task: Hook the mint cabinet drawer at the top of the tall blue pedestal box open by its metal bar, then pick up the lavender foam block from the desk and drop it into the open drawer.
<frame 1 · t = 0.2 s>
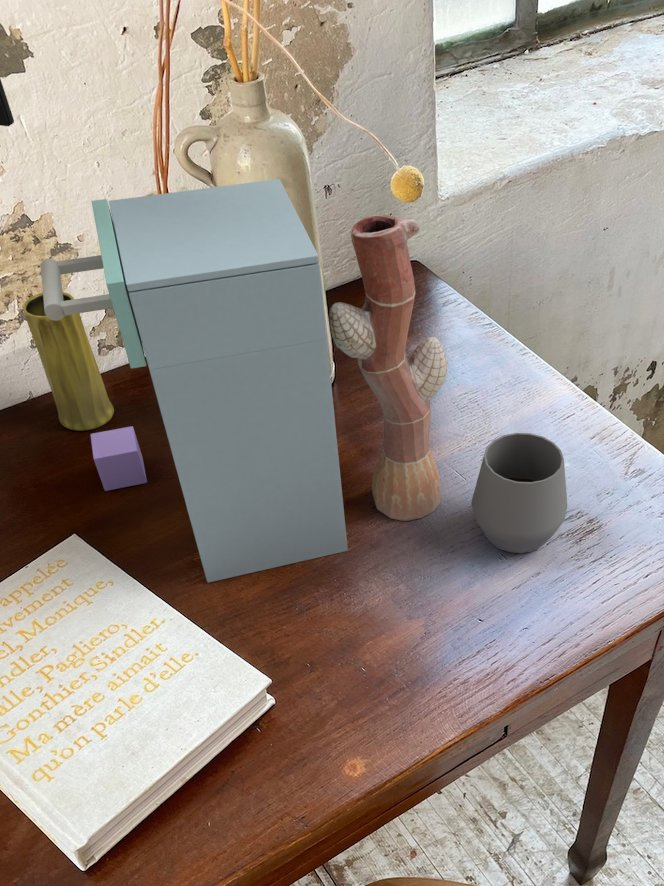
mint cabinet drawer: (168, 274, 72), point 28 cm above the table, slide at 0.0 cm
vase 2: (397, 500, 96), on the table
lavender foam block: (124, 474, 98), on the table
tall blue pedestal box: (264, 520, 93), on the table
cup: (516, 535, 93), on the table
vase: (87, 417, 105), on the table
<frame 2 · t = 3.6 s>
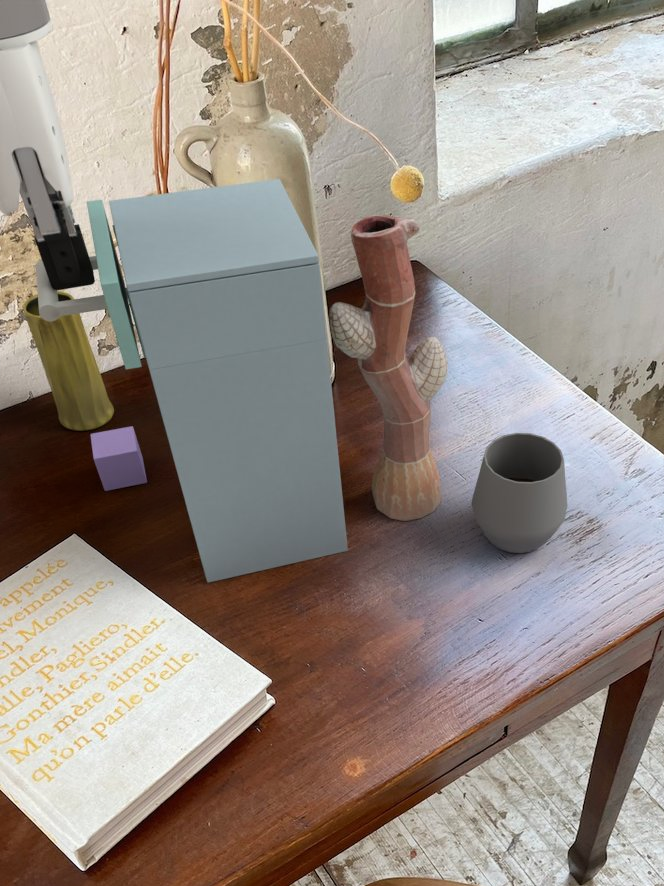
hand: (73, 282, 70), 28 cm above the table, tool pointing down, fingers closed
mint cabinet drawer: (163, 275, 72), point 28 cm above the table, slide at 0.4 cm, touching gripper
everything else where it was.
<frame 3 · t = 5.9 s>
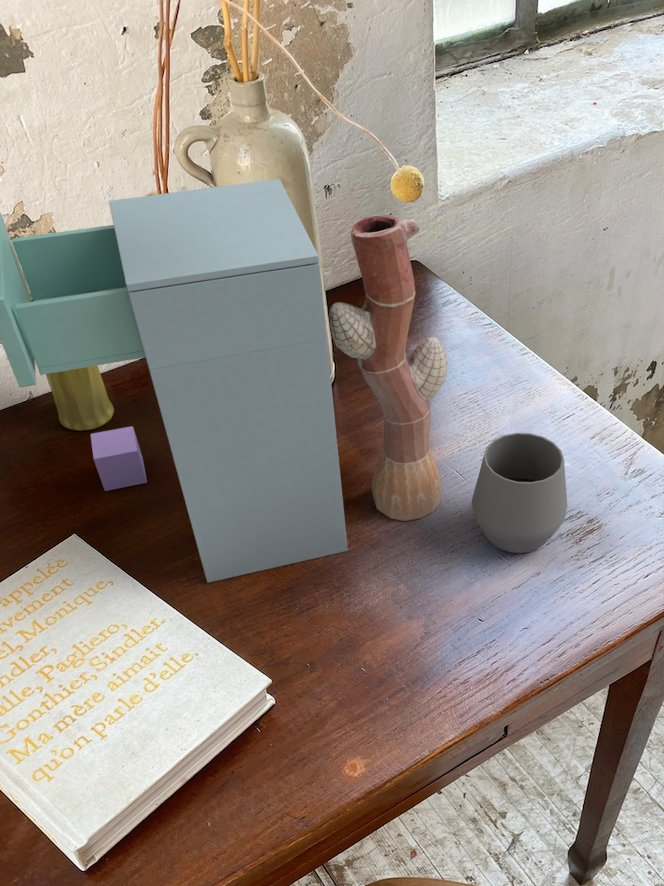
mint cabinet drawer: (62, 290, 70), point 28 cm above the table, slide at 8.1 cm
everything else where it was.
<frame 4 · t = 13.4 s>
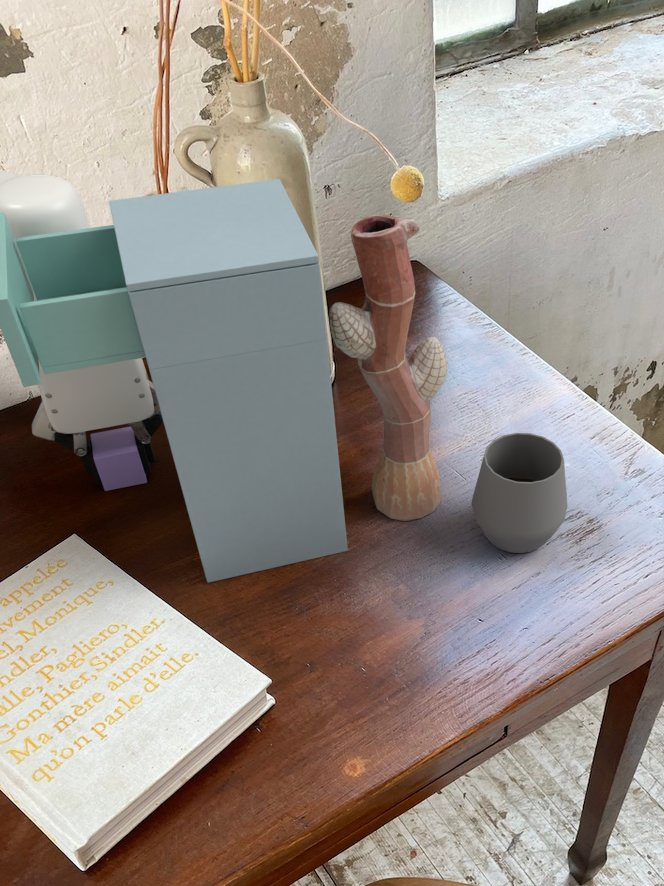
hand: (122, 470, 97), 1 cm above the table, tool pointing down, fingers closed on lavender foam block, 4 cm apart
lavender foam block: (124, 474, 98), on the table, touching gripper
everything else where it was.
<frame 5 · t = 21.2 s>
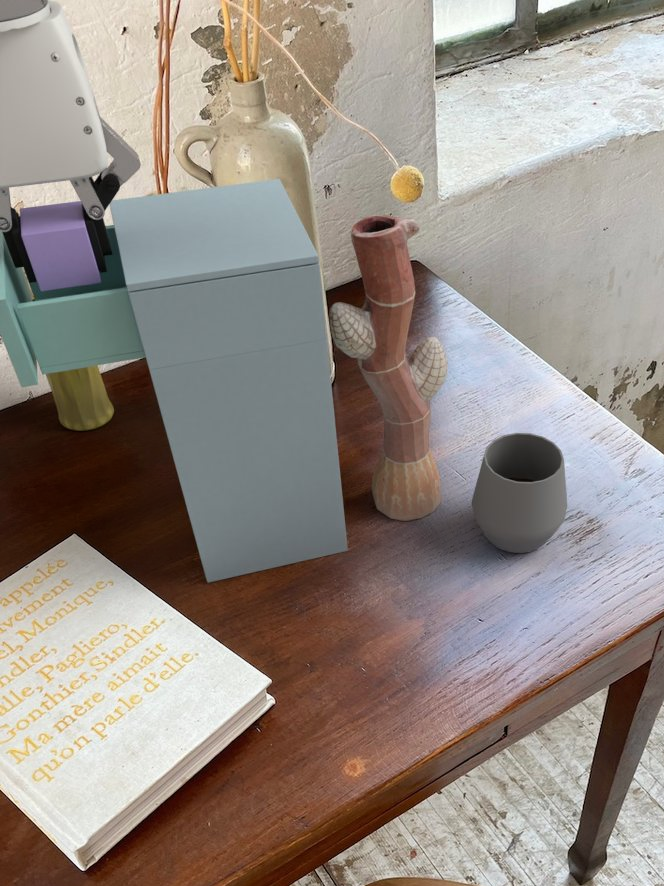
hand: (67, 266, 69), 30 cm above the table, tool pointing down, fingers closed on lavender foam block, 4 cm apart
lavender foam block: (69, 273, 69), point 29 cm above the table, touching gripper
everything else where it was.
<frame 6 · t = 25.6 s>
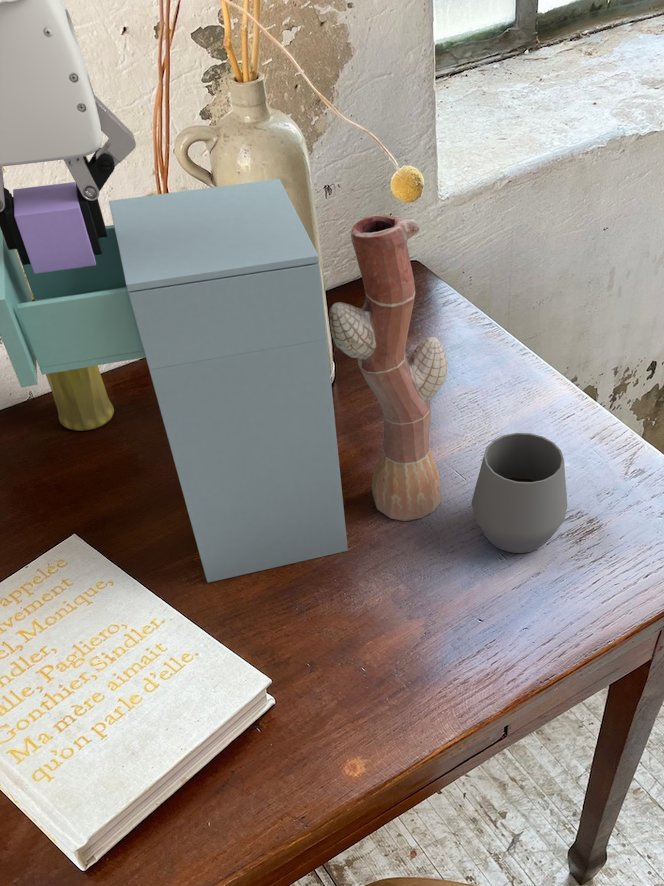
hand: (61, 249, 68), 31 cm above the table, tool pointing down, fingers closed on lavender foam block, 4 cm apart
lavender foam block: (63, 256, 68), point 30 cm above the table, touching gripper
everything else where it was.
when the fingers open (32 cm above the table, at t = 29.6 s): lavender foam block drops 6 cm, resting on mint cabinet drawer.
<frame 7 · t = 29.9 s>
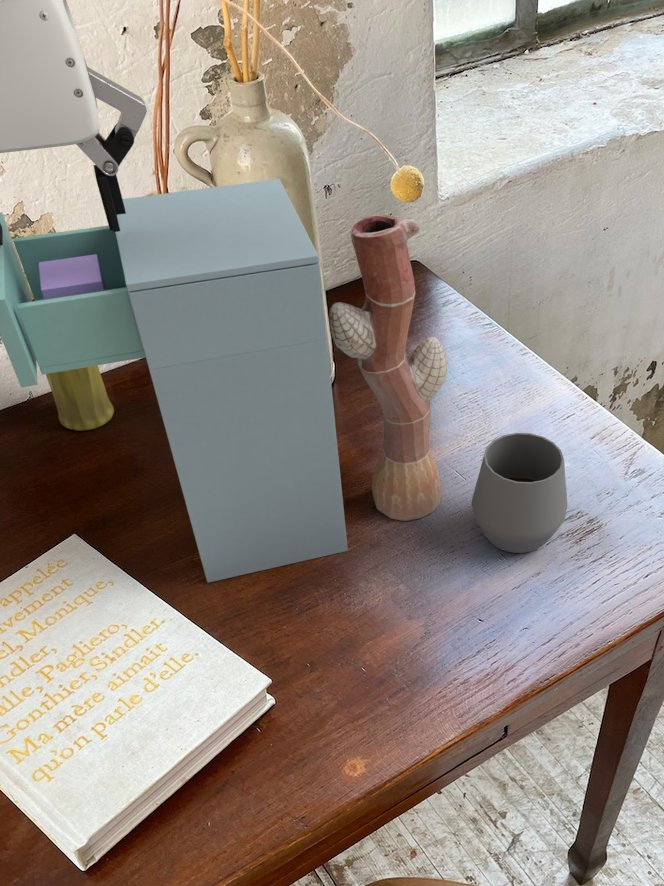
hand: (56, 230, 67), 32 cm above the table, tool pointing down, fingers open, 7 cm apart
mint cabinet drawer: (64, 290, 70), point 28 cm above the table, slide at 8.0 cm, touching lavender foam block
lavender foam block: (85, 322, 72), point 25 cm above the table, touching mint cabinet drawer
everything else where it was.
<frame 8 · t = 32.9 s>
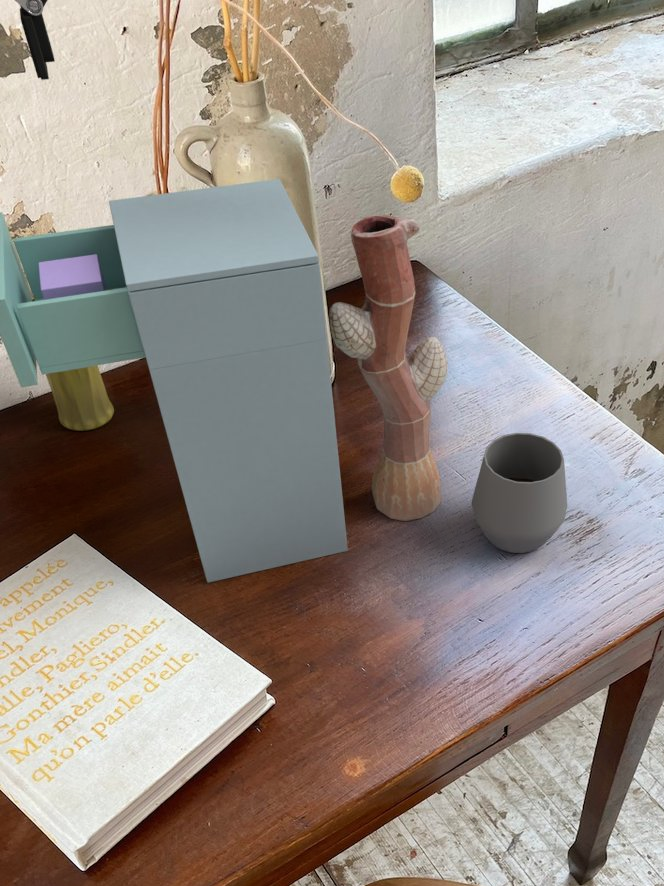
nothing on the table moved.
at the end: mint cabinet drawer slide at 8.0 cm; lavender foam block inside the target area on the tall blue pedestal box (0.2 cm from its centre), point 24.8 cm above the tall blue pedestal box's base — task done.
